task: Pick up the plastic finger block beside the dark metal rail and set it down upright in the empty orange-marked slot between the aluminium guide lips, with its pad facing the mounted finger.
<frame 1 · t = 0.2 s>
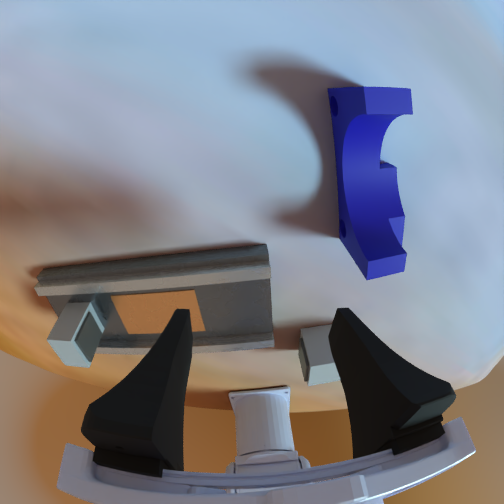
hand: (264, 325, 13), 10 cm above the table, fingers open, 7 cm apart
loose finger: (327, 335, 29), on the table
cable clip: (361, 164, 20), on the table
rail: (151, 303, 25), on the table
mounted finger: (85, 316, 23), resting on rail
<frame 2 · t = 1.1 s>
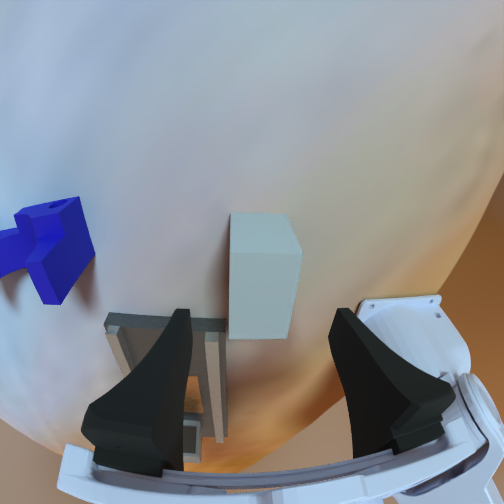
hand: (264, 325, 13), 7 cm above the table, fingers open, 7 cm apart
loose finger: (255, 253, 19), on the table
cable clip: (33, 231, 17), on the table
rail: (180, 388, 27), on the table
mounted finger: (187, 424, 29), resting on rail
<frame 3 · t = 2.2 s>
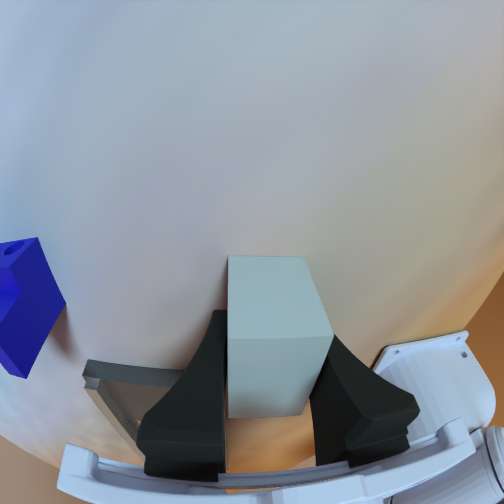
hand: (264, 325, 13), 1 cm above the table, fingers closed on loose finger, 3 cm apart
loose finger: (261, 305, 14), on the table, touching gripper
rail: (175, 429, 22), on the table
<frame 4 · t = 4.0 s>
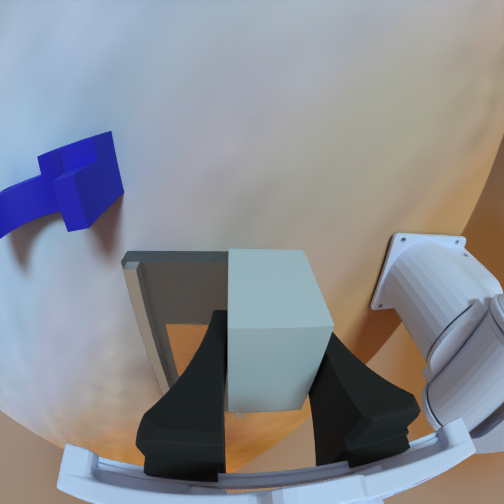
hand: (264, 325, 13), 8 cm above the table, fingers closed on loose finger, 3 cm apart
loose finger: (261, 299, 14), point 7 cm above the table, touching gripper
cable clip: (55, 178, 17), on the table
rail: (199, 348, 26), on the table
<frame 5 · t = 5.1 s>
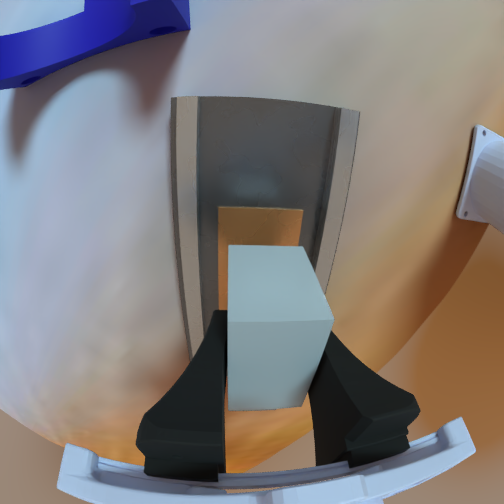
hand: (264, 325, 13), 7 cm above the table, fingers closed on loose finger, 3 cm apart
loose finger: (261, 296, 14), point 5 cm above the table, touching gripper
cable clip: (96, 26, 10), on the table
rail: (254, 266, 19), on the table
when the fingers open (4 cm above the table, at t = 5.9 s): loose finger stays where it is, resting on rail.
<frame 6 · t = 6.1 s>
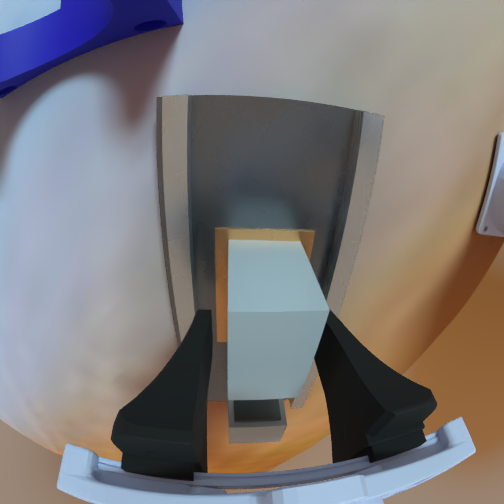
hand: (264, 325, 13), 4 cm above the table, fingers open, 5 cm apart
loose finger: (260, 289, 15), point 2 cm above the table, touching rail
cable clip: (75, 25, 8), on the table
rail: (256, 291, 17), on the table
mounted finger: (251, 376, 19), resting on rail
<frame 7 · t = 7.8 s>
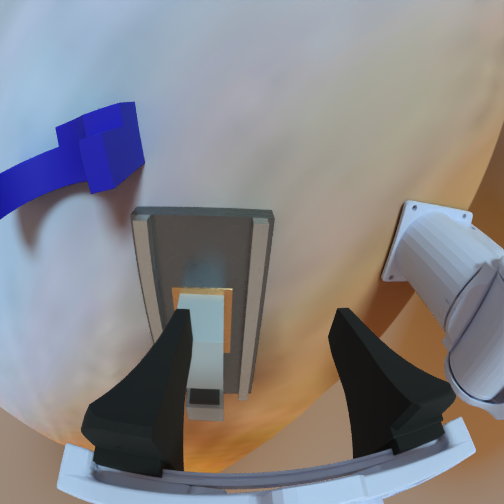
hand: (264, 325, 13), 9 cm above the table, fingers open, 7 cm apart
loose finger: (203, 321, 23), point 2 cm above the table, touching rail
cable clip: (72, 151, 17), on the table
rail: (204, 319, 25), on the table
mounted finger: (206, 374, 28), resting on rail
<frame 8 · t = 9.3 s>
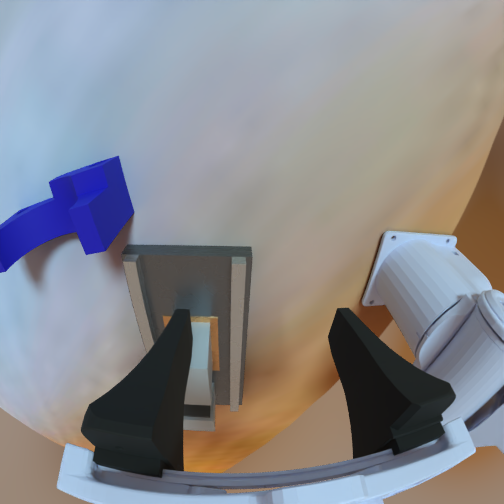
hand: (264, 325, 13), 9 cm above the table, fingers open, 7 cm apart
loose finger: (192, 344, 25), point 2 cm above the table, touching rail
cable clip: (67, 200, 19), on the table
rail: (195, 341, 27), on the table
mounted finger: (199, 388, 29), resting on rail
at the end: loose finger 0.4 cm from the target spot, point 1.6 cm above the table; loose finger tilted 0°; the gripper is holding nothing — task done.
